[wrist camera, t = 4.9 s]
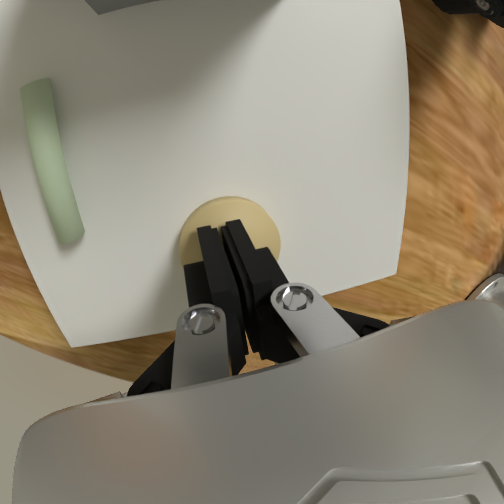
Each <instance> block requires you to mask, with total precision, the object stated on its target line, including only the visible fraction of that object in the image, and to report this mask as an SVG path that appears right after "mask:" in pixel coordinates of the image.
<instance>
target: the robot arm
mask: <svg viewBox="0 0 504 504" xmlns="http://www.w3.org/2000/svg"><path fill="white" fill-rule="evenodd" d="M221 232H222V238H223V244H224V247H223V244H222V241H221V238H220V235H219V233H218V230H217V227H216V228H211V225H208V226H203V227H198V228H197V233H198V238H199V243H200V248H201V252H202V257H203V261H200V262H195V263H191V264H186V265H184V275H185V283H186V290H187V297H188V304H189V308H188V309H186V310H185V311H184V312H182V314H181V315H180V316H179V318H178V321H177V325H176V335H175V341H174V342H173V343H172V344H171V345H170V346H169V347H168V348H167V349H166V350H165V351H164V352H163V353H162V354H161V355H160V356H159V357H158V358H157V359H156V361H155V362H154V363H153V364H152V365H151V366H150V367H149V368H148V369H147V370H146V371H145V372H144V373H143V374H142V375H141V376H140V377H139V378H138V379H137V380H136V381H135V382H134V383H133V385H132V386H131V387H130V389H129V391H128V392H127V393H125V394H121V393H120V392H117V393H114V394H111V395H108V396H105V397H102V398H99V399H96V400H93V401H90V402H87V403H84V404H81V405H76V406H71V407H68V408H65V409H62V410H59V411H56V412H54V413H51V414H49V415H47V416H45V417H43V418H41V419H39V420H38V421H36V422H35V423H34V424H32V425H31V426H30V427H29V428H28V429H27V430H26V431H25V433H24V435H23V437H22V439H21V442H20V444H19V448H18V451H17V456H16V461H15V467H14V475H13V488H12V504H504V275H503V274H501V273H499V274H495V275H493V276H491V277H489V278H488V279H486V280H485V281H484V282H483V283H482V284H480V285H479V286H478V287H477V289H476V290H475V291H474V292H473V293H472V294H471V295H470V296H469V297H468V298H467V300H465V301H460V302H454V303H451V304H448V305H444V306H441V307H438V308H436V309H433V310H431V311H428V312H425V313H423V314H420V315H418V316H414V317H409V318H403V319H397V320H391V322H390V324H387V323H385V322H383V321H381V320H378V319H374V318H370V317H367V316H363V315H359V314H355V313H352V312H348V311H344V310H341V309H337V308H333V307H331V306H330V305H329V304H328V303H327V302H326V301H325V299H324V298H323V297H322V296H321V295H320V294H319V293H318V292H317V291H316V290H315V289H314V288H312V287H311V286H309V285H306V284H303V283H289V281H288V280H287V278H286V276H285V275H284V273H283V271H282V270H281V268H280V266H279V264H278V263H277V261H276V259H275V258H274V256H273V254H272V253H271V251H270V249H269V248H268V247H264V248H259V249H255V247H254V245H253V243H252V241H251V239H250V237H249V235H248V233H247V232H246V230H245V228H244V226H243V224H242V222H241V220H240V219H237V220H232V221H227V222H226V226H221ZM245 331H246V334H247V337H248V340H249V343H250V346H251V349H252V351H253V353H256V352H259V354H260V357H261V360H264V359H268V360H271V361H274V362H275V365H273V366H270V367H266V368H262V369H259V370H255V371H251V372H247V373H243V374H239V375H238V373H239V372H240V371H241V369H242V368H243V367H244V365H245V364H246V359H245V355H248V354H249V352H248V346H247V340H246V334H245Z"/></svg>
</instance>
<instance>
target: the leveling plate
mask: <svg viewBox="0 0 504 504" xmlns="http://www.w3.org/2000/svg"><path fill="white" fill-rule="evenodd" d="M408 162H409V84H408V67H407V55H406V45H405V36H404V28H403V20H402V13H401V7H400V1H399V0H0V190H1V194H2V197H3V200H4V203H5V206H6V210H7V213H8V215H9V218H10V221H11V224H12V227H13V230H14V232H15V235H16V237H17V240H18V243H19V245H20V248H21V250H22V253H23V255H24V257H25V260H26V262H27V264H28V267H29V269H30V271H31V273H32V275H33V278H34V280H35V282H36V284H37V286H38V288H39V290H40V292H41V294H42V296H43V298H44V300H45V302H46V304H47V306H48V308H49V310H50V311H51V313H52V315H53V317H54V319H55V321H56V322H57V324H58V326H59V328H60V329H61V331H62V333H63V335H64V336H65V338H66V340H67V341H68V343H69V345H70V346H71V348H73V347H80V346H87V345H93V344H100V343H106V342H112V341H118V340H124V339H130V338H136V337H142V336H147V335H153V334H158V333H163V332H168V331H173V330H176V325H177V321H178V318H179V316H180V315H181V314H182V312H184V311H185V310H186V309H188V308H189V304H188V297H187V290H186V283H185V275H184V265H186V264H191V263H195V262H200V261H203V257H202V252H201V248H200V243H199V238H198V233H197V228H198V227H203V226H208V225H211V228H216V227H217V230H218V233H219V235H220V238H221V241H222V244H223V238H222V232H221V226H226V222H227V221H232V220H237V219H240V220H241V222H242V224H243V226H244V228H245V230H246V232H247V233H248V235H249V237H250V239H251V241H252V243H253V245H254V247H255V249H259V248H264V247H268V248H269V249H270V251H271V253H272V254H273V256H274V258H275V259H276V261H277V263H278V264H279V266H280V268H281V270H282V271H283V273H284V275H285V276H286V278H287V280H288V281H289V283H303V284H306V285H309V286H311V287H312V288H314V289H315V290H316V291H317V292H318V293H319V294H320V295H321V296H323V295H326V294H330V293H334V292H337V291H341V290H344V289H348V288H351V287H355V286H358V285H362V284H365V283H368V282H372V281H375V280H378V279H382V278H385V277H388V276H391V275H395V274H396V271H397V265H398V259H399V252H400V246H401V238H402V231H403V223H404V214H405V204H406V193H407V179H408ZM223 247H224V244H223Z"/></svg>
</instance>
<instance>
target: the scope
mask: <svg viewBox="0 0 504 504" xmlns="http://www.w3.org/2000/svg"><path fill="white" fill-rule="evenodd" d="M432 1H433V2H434V3H435V5H436V6H437V7H439V8H440V9H441V10H442V11H443V12H446V13H448V14H480V15H482V16H483V17H485V18H487V19H489V20H491V21H492V22H494V23H495V24H496V25H498V26H500V27H502V28H504V0H432Z"/></svg>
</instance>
